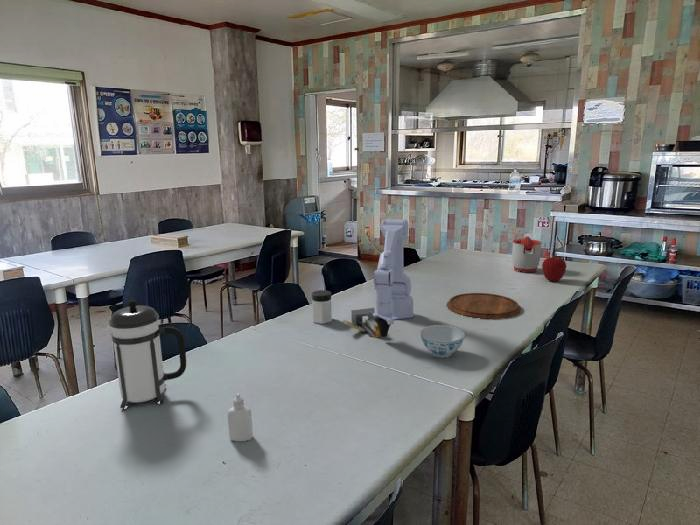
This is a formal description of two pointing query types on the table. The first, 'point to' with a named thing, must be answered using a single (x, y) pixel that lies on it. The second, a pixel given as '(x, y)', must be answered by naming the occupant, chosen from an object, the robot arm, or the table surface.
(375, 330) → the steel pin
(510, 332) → the table surface
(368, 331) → the hitch block
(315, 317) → the jar
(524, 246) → the citrus juicer
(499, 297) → the cutting board
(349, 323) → the keeper tab
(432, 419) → the table surface
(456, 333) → the chinaware
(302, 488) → the table surface
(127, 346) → the coffee press
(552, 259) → the apple
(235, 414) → the eye dropper bottle
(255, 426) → the table surface
